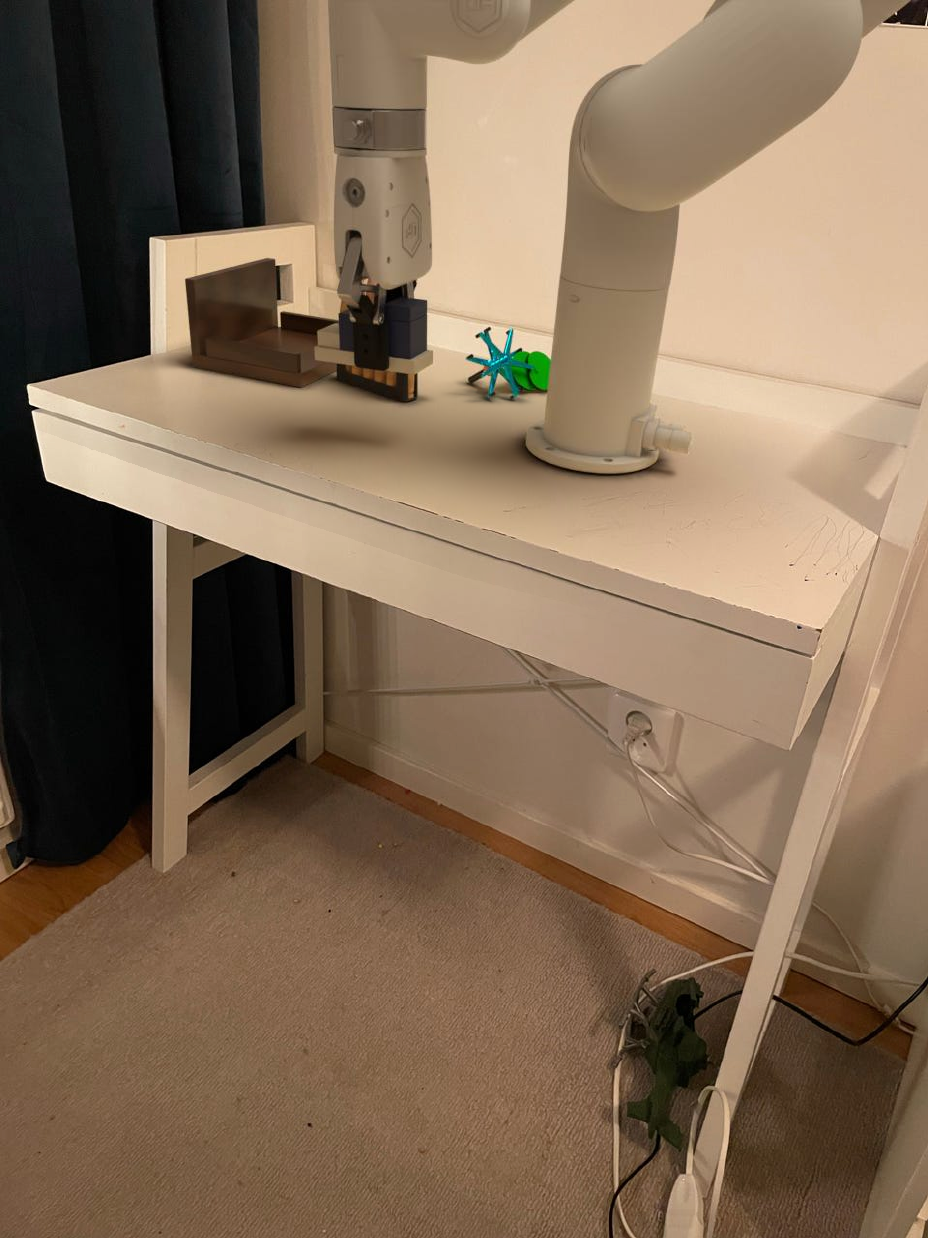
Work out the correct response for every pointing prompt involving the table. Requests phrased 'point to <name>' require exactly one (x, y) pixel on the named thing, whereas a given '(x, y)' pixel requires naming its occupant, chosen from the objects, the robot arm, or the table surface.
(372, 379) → the ammunition clip
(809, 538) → the table surface
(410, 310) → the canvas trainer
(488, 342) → the stick construction toy
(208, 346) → the wooden book end
